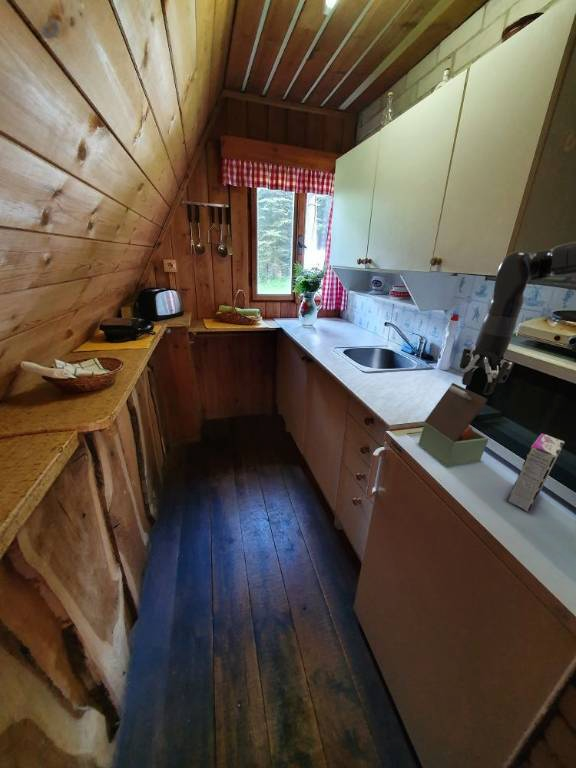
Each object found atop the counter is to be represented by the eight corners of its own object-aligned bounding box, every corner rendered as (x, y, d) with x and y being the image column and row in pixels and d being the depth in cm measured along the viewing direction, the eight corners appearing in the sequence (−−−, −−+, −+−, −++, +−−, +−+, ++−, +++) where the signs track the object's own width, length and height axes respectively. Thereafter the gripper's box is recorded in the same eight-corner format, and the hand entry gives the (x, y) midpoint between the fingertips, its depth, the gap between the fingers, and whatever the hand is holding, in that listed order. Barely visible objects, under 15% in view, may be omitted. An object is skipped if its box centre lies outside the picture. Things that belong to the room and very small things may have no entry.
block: (452, 436, 96) (462, 430, 97) (463, 443, 93) (473, 436, 93) (450, 428, 94) (461, 421, 95) (461, 434, 91) (471, 427, 91)
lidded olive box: (449, 440, 103) (457, 419, 100) (480, 460, 93) (488, 438, 90) (418, 444, 98) (424, 423, 95) (446, 466, 88) (454, 443, 85)
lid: (453, 383, 93) (444, 377, 90) (488, 399, 83) (479, 392, 80) (425, 422, 95) (416, 416, 93) (455, 442, 85) (446, 437, 83)
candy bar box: (517, 484, 84) (541, 432, 78) (539, 494, 80) (566, 441, 74) (505, 500, 77) (530, 445, 71) (528, 513, 73) (557, 456, 67)
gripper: (532, 339, 77) (508, 399, 83) (482, 326, 90) (464, 379, 96) (512, 338, 75) (488, 400, 81) (463, 326, 87) (446, 380, 93)
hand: (475, 389), depth 88 cm, fingers open, 6 cm apart
